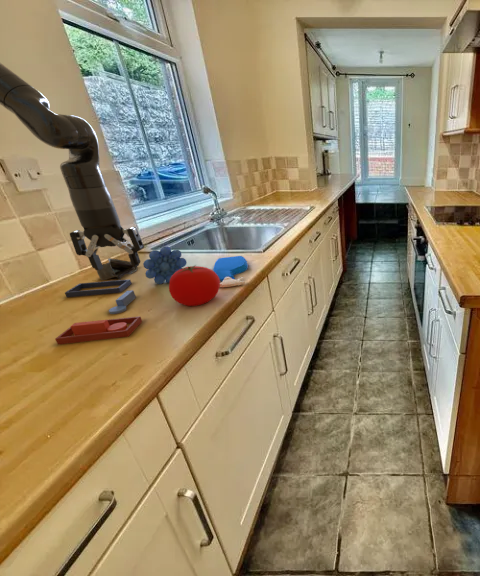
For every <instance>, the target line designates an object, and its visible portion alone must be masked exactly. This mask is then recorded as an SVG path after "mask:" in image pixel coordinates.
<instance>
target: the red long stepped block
mask: <svg viewBox="0 0 480 576" xmlns="http://www.w3.org/2000/svg"><path fill="white" fill-rule="evenodd" d="M108 320H109V319H99V320H90V321H81V322H74V323H73V324H72V325H70V327H71V329H72V331H73V333H74V334H73V336H77V335H86V334H95V333H104V332H113V331H122V330H126V329H127V328H128V327H129V326H128V324H126V323H124V322H121V323H116V324H113V325H111V326H110V325H109V323H108Z"/></svg>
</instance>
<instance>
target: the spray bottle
mask: <svg viewBox="0 0 480 576" xmlns="http://www.w3.org/2000/svg"><path fill="white" fill-rule="evenodd" d="M248 267H249V264H248V261H247V259H246V258H245V257H244V256H242V255H235V256H226V257H219V258H217V259H216V261H215V263H214V265H213V269H212V271H214V272H215V273H216V274H217V275H218V277H219V279H220V287H219V288H230V287H236V286H242V285H246V281H245V280H243V279H244V278H243V276H241V277H239V278H237V279H236V278H235V275H239V274H242V273H244V272H246V271H247V270H248Z"/></svg>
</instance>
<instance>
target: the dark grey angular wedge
mask: <svg viewBox="0 0 480 576" xmlns="http://www.w3.org/2000/svg"><path fill="white" fill-rule="evenodd" d="M107 260H108V262H106V263H102V265H103V268H102V269H101V270H95V271H96V274H97V275H98V277H99V279H100V281H108V280H110V279H113V278H117V279H118V280H121V279H122V278H123V277H124V276H125V275H132V274H134V273H135V272H137V271H138V269H139V268H138V267H139V266H137V267H132V264H131V261H130V260H129V261H128V260H124V259H118V258H111V257H108V258H107Z"/></svg>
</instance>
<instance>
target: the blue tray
mask: <svg viewBox="0 0 480 576" xmlns="http://www.w3.org/2000/svg"><path fill="white" fill-rule="evenodd" d="M130 285H132V281H131V279H130V278H128V279H118V280H116V279H115V280H103V281H93V282H81V283H78V284H77V285H75V286H73V287H71V288H70V289H68V290H67V291H65V292H64V294H65V297H66V298H76V297H85V296H97V295H110V294H120V293H122V292H123V291H125V290H126V289H127V288H128V287H130ZM114 286H115V287H114ZM117 286H118V287H117ZM102 287H103V288H102ZM104 287H109V288H104ZM91 288H92V289H91ZM93 288H97V289H93ZM82 289H85V290H82ZM87 289H88V290H87Z"/></svg>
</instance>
